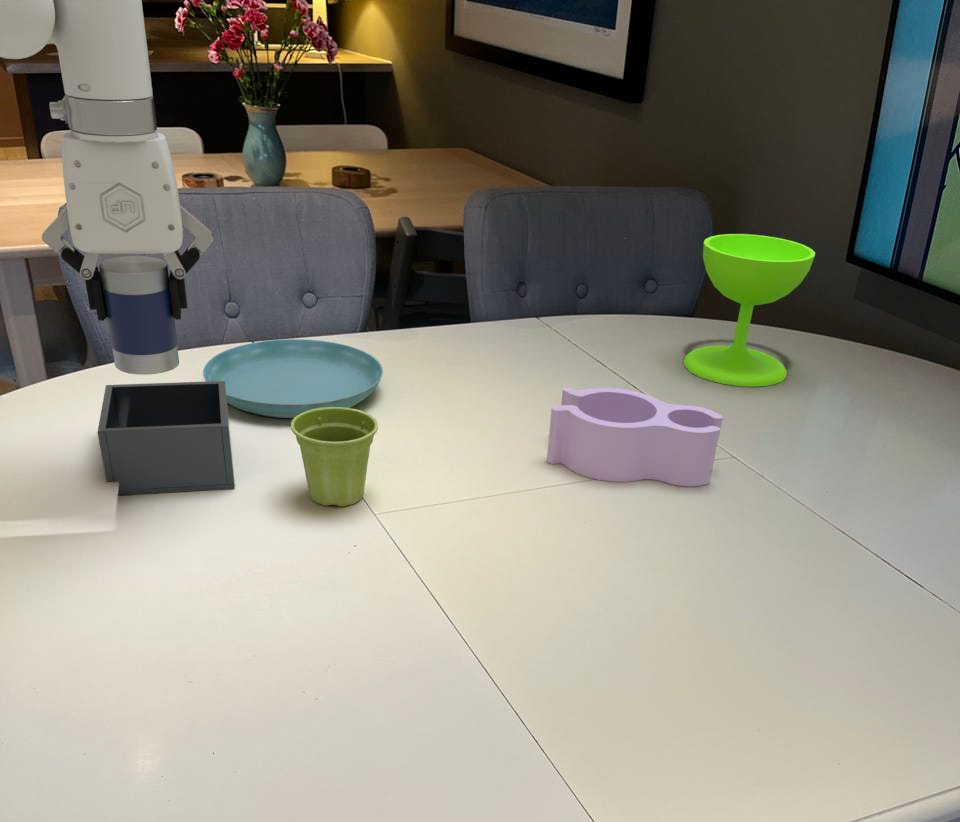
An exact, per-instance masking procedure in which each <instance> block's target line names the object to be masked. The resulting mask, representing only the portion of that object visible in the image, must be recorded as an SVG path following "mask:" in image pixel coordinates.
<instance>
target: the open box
mask: <svg viewBox="0 0 960 822" xmlns="http://www.w3.org/2000/svg"><path fill="white" fill-rule="evenodd" d="M97 437H98V443H99V449H100V454H101V460H102V464H103V470H104V471H103V472H104V475H105V476H104V477H105V482H106V483H118V488H117V489H118V490H117V496H130V495H132V496H133V495H148V494H149V495H150V494H164V493H166V494H167V493H179V492H180V493H182V492H199V491H217V490H235V489H236V484H235V472H234V460H233V459H234V458H233V448H232V435H231V426H230V417H229V406H228V403H227V395H226V385H225V381H207V382H206V381H183V382H181V381H179V382H155V383H153V382H151V383H127V384H126V383H125V384H124V383H123V384H106V385H105V388H104V394H103V399H102V404H101V410H100V416H99V422H98V427H97Z"/></svg>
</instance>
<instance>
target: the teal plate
mask: <svg viewBox="0 0 960 822" xmlns="http://www.w3.org/2000/svg"><path fill="white" fill-rule="evenodd" d="M383 375H384V369H383V366H382V363H380V361H379V360H378V359H376V358H375V357H374V356H373V355H372V354H370V353H368V352H366V351H364V350H362V349H359V348H357V347H354V346H350V345H346V344H342V343H338V342H332V341H326V340H317V339H304V338H303V339H302V338H301V339H299V338H285V339H284V338H282V339H271V340H263V341H256V342H250V343H246V344H240V345H238V346H234V347H231V348H229V349H226V350H224V351H221V352H220V353H219V352H218V354H216V355H214V356H213V357H211V358H210V359H209V360H208V361H207V362H206V363H205V365H204V367H203V370H202V376H203V378H204V382H207V381H225V385H226V395H227V404H229V405H231V406H232V407H235V408H237V409H238V410H242V411H243V412H248V413H251V414H254V415H258V416H263V417H269V418H279V419H294V418H295V417H296V416H298V415H299V414H301V413H303V412H306V411H309V410H312V409H317V408H325V407H343V408H353V407H354V406H356V405H358V404H359V403H361V402H362V401H364V400H365V399H366V398H368V397H369V396H370V395H371V394H372V393H373V392H374V391H375V389H376V388H377V387H378V385H379V384H380V382H381V380H382V377H383Z"/></svg>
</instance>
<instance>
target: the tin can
mask: <svg viewBox="0 0 960 822" xmlns="http://www.w3.org/2000/svg"><path fill="white" fill-rule="evenodd" d="M98 269H99V271H100V275H101V281H102V291H103V297H104V303H105V309H106V316H107V317H106V321H107V328H108V333H109V339H110V340H109V341H110V346H111V349H112V356H113V362H114V366H115V368H116V369H117V370H118V371H121V372H123V373H126V374H130V375H131V374H132V375H139V376H140V375H141V376H142V375H145V376H146V375H156V374H163V373H168V372H170V371H172V370H174V369H176V368H177V367H178V366H179V365H180V357H179V348H178V336H177V329H176V319H175V318H173V311H172V303H171V295H170V287H169V266H168V265H167V263H166V261H165V260H164V259H161V258H158V257H153V256H146V255H145V256H144V255H125V256H117V257H112V258H107V259H104V260H103V261H101V262H100V263H99V265H98Z"/></svg>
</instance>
